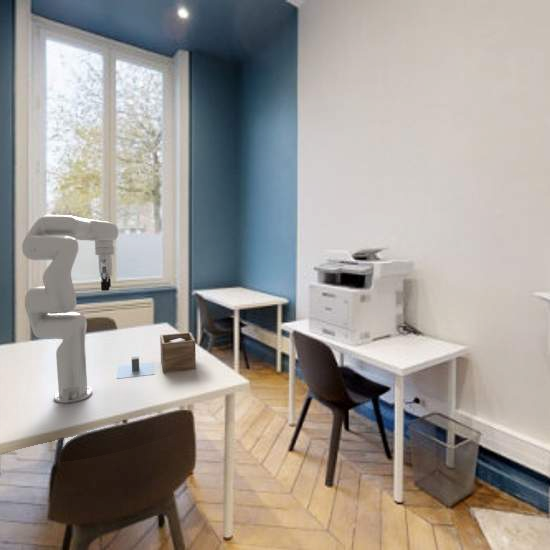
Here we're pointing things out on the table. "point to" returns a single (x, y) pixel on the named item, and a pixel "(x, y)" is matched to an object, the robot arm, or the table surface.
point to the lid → (135, 369)
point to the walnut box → (177, 352)
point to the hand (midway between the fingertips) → (106, 288)
